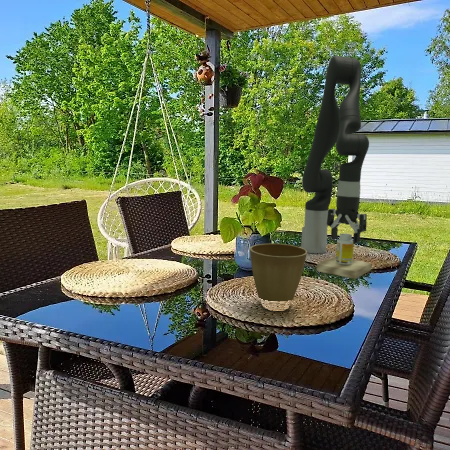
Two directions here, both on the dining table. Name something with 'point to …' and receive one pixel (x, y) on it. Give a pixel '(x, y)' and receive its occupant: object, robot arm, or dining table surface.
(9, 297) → the dining table surface
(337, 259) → the supplement bottle
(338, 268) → the birch board
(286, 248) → the plant pot
